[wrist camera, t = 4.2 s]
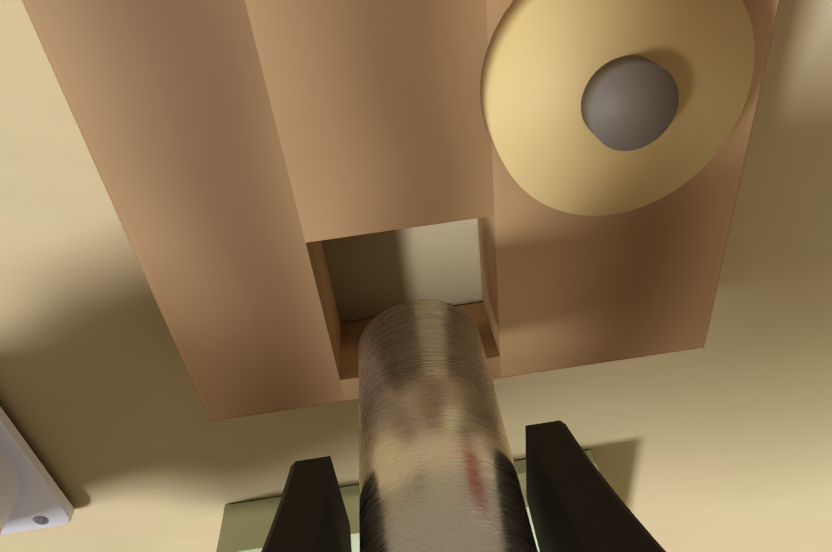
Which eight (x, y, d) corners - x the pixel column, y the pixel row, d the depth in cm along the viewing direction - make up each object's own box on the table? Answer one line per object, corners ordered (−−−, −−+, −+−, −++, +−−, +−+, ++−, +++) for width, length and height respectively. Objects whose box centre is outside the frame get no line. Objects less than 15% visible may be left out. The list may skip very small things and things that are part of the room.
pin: (354, 414, 15) (354, 838, 8) (326, 296, 13) (296, 737, 6) (500, 394, 15) (613, 801, 8) (495, 273, 13) (639, 689, 6)
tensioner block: (224, 360, 19) (196, 474, 15) (49, -85, 12) (-75, -65, 8) (664, 295, 19) (738, 393, 15) (739, -176, 12) (900, -194, 9)
